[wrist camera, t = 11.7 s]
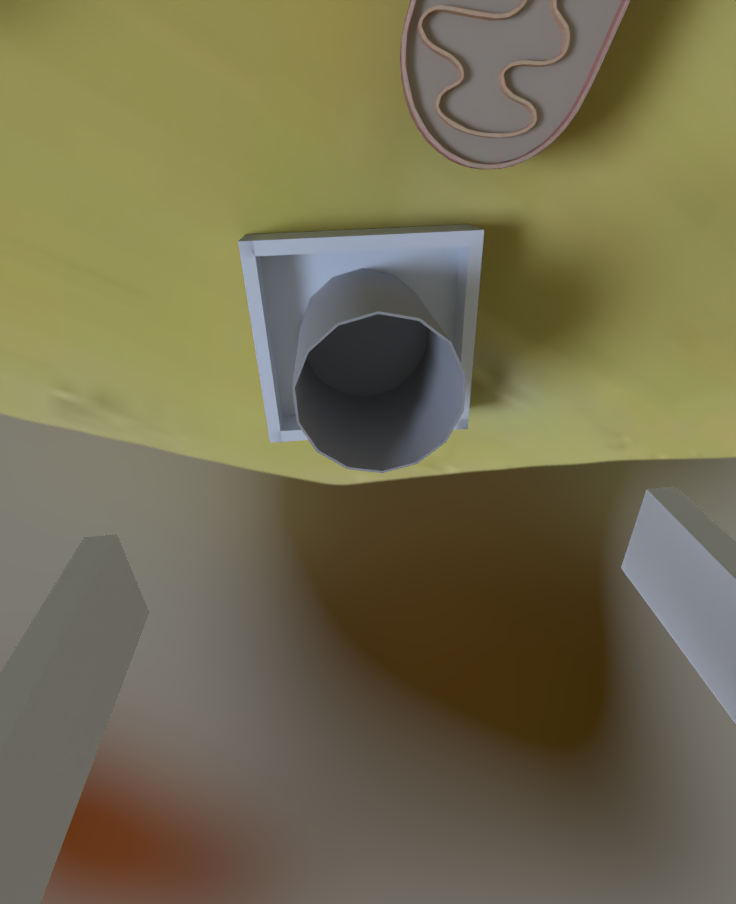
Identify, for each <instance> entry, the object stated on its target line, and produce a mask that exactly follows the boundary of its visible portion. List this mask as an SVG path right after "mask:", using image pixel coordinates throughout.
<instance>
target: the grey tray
mask: <svg viewBox="0 0 736 904" xmlns="http://www.w3.org/2000/svg"><path fill="white" fill-rule="evenodd" d="M483 239H484V230H483V229H481V228H478V227H476V226H473V225H471V224H462V225H441V226H419V227H398V228H376V229H354V230H333V231H311V232H290V233H268V234H246V235H245V236H243V237H242V238H241V239H240V240H239V241H238V244H239V250H240V256H241V263H242V269H243V275H244V282H245V288H246V294H247V300H248V307H249V313H250V319H251V325H252V332H253V338H254V344H255V351H256V357H257V363H258V369H259V376H260V382H261V388H262V394H263V401H264V407H265V413H266V420H267V426H268V432H269V438H270V442H284V441H298V440H308V438H307V437H306V436H305V434H304V433H303V431H302V430H301V428H300V427H299V426H298V424H297V421H296V414H295V406H294V398H293V390H292V385H293V377H294V369H295V362H296V354H297V346H298V338H299V331H300V325H301V322H302V319H303V316H304V314H305V311H306V308H307V306H308V303H309V300H310V298H311V297H312V296H313V295H314V294H315V293H316V292H317V291H318V290H319V289H320V288H321V287H322V286H323V285H324V284H326V283H327V282H328V281H329V280H330V279H331V278H332V277H334V276H338V275H341V274H344V273H348V272H351V271H354V270H358V269H361V268H363V269H368V270H374V271H379V272H385V273H390V274H393V275H394V276H395V277H396V278H398V279H399V280H400V281H401V282H403V283H404V284H405V285H407V286H408V287H409V288H410V289H412V290H413V291H414V292H415V293H416V294H417V296H418V297H419V298H420V300H421V301H422V302H423V304H424V305H425V307H426V308H427V309H428V311H429V312H430V313H431V315H432V316H433V317H434V319H435V320H436V322H437V323H438V324H439V326H440V327H441V328H442V330H443V331H444V333H445V334H446V335H447V337H448V338H449V339H450V341H451V342H452V345H453V347H454V349H455V351H456V354H457V356H458V358H459V360H460V362H461V365H462V367H463V369H464V371H465V374H466V388H465V401H464V412H463V414H462V415H461V417H460V419H459V420H458V422H457V424H456V426H455V427H454V429H453V430H456V429H468V418H469V406H470V395H471V383H472V371H473V359H474V347H475V335H476V323H477V311H478V299H479V287H480V275H481V263H482V251H483Z"/></svg>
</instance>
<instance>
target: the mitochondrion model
mask: <svg viewBox="0 0 736 904" xmlns="http://www.w3.org/2000/svg"><path fill="white" fill-rule="evenodd" d="M630 1H631V0H411V1H410V5H409V8H408V12H407V15H406V19H405V24H404V29H403V33H402V39H401V50H400V63H401V78H402V84H403V90H404V95H405V99H406V102H407V105H408V108H409V111H410V114H411V116H412V118H413V120H414V122H415V124H416V126H417V128H418V129H419V131H420V132H421V134H422V135H423V137H424V138H425V139H426V141H427V142H428V143H429V144H430V145H431V146H432V147H433V148H434V149H435V150H436V151H438V152H439V153H440V154H442V155H443V156H444V157H446V158H447V159H448V160H451V161H453V162H455V163H457V164H459V165H462V166H466V167H469V168H475V169H502V168H506V167H510V166H514V165H516V164H519V163H521V162H523V161H525V160H527V159H529V158H531V157H533V156H535V155H537V154H538V153H540V152H542V151H543V150H544V149H545V148H546V147H548V146H549V145H550V144H551V143H552V142H553V141H554V140H555V139H556V138H557V137H558V136H559V135H560V134H561V133H562V132H563V131H564V130H565V129H566V127H567V126H568V125H569V123H570V122H571V120H572V119H573V118H574V116H575V115H576V113H577V112H578V111H579V109H580V107H581V105H582V103H583V101H584V99H585V98H586V96H587V94H588V92H589V90H590V88H591V86H592V84H593V83H594V81H595V79H596V76H597V74H598V72H599V70H600V67H601V65H602V63H603V61H604V59H605V56H606V54H607V52H608V50H609V47H610V45H611V43H612V41H613V38H614V36H615V34H616V32H617V30H618V27H619V25H620V23H621V21H622V18H623V16H624V14H625V12H626V9H627V7H628V5H629V3H630Z"/></svg>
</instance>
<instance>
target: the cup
mask: <svg viewBox="0 0 736 904" xmlns="http://www.w3.org/2000/svg"><path fill="white" fill-rule="evenodd" d="M465 388H466V374H465V371H464V369H463V367H462V365H461V362H460V360H459V358H458V356H457V354H456V351H455V349H454V347H453V345H452V342H451V341H450V339H449V338H448V337H447V335H446V334H445V333H444V331H443V330H442V328H441V327H440V326H439V324H438V323H437V322H436V320H435V319H434V317H433V316H432V315H431V313H430V312H429V311H428V309H427V308H426V307H425V305H424V304H423V302H422V301H421V300H420V298H419V297H418V296H417V294H416V293H415V292H414V291H413V290H412V289H410V288H409V287H408V286H407V285H405V284H404V283H403V282H401V281H400V280H399V279H398V278H396V277H395V276H394V275H393V274H390V273H385V272H379V271H374V270H368V269H363V268H361V269H358V270H354V271H351V272H348V273H344V274H341V275H338V276H334V277H332V278H331V279H330V280H329V281H328V282H327V283H326V284H324V285H323V286H322V287H321V288H320V289H319V290H318V291H317V292H316V293H315V294H314V295H313V296H312V297H311V298H310V300H309V303H308V306H307V308H306V311H305V314H304V316H303V319H302V322H301V325H300V331H299V338H298V346H297V354H296V362H295V369H294V377H293V385H292V390H293V398H294V406H295V414H296V421H297V424H298V426H299V427H300V428H301V430H302V431H303V433H304V434H305V436H306V437H307V438H308V440H309V441H310V443H311V444H312V446H313V447H314V449H315V450H316V451H317V452H318V453H320V454H322V455H323V456H325V457H327V458H329V459H331V460H332V461H334V462H336V463H338V464H339V465H341V466H343V467H345V468H346V469H352V470H361V471H370V472H379V473H384V472H388V471H391V470H395V469H399V468H403V467H406V466H410V465H414V464H417V463H419V462H420V461H421V460H423V459H424V458H425V457H427V456H428V455H429V454H431V453H432V452H433V451H435V450H436V449H437V448H439V447H440V446H441V445H443V444H444V443H445V442H446V441H447V439H448V438H449V436H450V434H451V432H452V431H453V429H454V427H455V426H456V424H457V422H458V420H459V419H460V417H461V415H462V414H463V412H464V401H465Z"/></svg>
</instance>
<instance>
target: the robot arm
mask: <svg viewBox="0 0 736 904" xmlns="http://www.w3.org/2000/svg"><path fill="white" fill-rule="evenodd" d="M621 568H622V570H623V571H624V572H625V574H626V575H627V577H628V578H629V579H630V581H631V582H632V583H633V585H634V586H635V587H636V589H637V590H638V592H639V593H640V594H641V596H642V597H643V598H644V600H645V601H646V602H647V604H648V605H649V607H650V608H651V609H652V611H653V612H654V613H655V615H656V616H657V617H658V619H659V620H660V622H661V623H662V624H663V626H664V627H665V628H666V630H667V631H668V633H669V634H670V635H671V637H672V638H673V639H674V641H675V642H676V643H677V645H678V646H679V647H680V649H681V650H682V652H683V653H684V654H685V656H686V657H687V658H688V659H689V661H690V663H691V664H692V665H693V666H694V668H695V669H696V670H697V672H698V673H699V675H700V676H701V678H702V679H703V680H704V682H705V683H706V684H707V686H708V687H709V688H710V690H711V691H712V693H713V694H714V695H715V697H716V698H717V699H718V701H719V702H720V703H721V705H722V706H723V707H724V709H725V710H726V711H727V713H728V714H729V716H730V717H731V718H732V720H733V721H734V723H735V724H736V542H735V541H734V540H733V539H732V538H731V537H730V536H729V535H728V534H726V533H725V532H724V531H723V530H722V529H721V528H720V527H719V526H718V525H717V524H716V523H714V521H712V520H711V519H710V518H709V517H708V516H707V515H706V514H705V513H704V512H703V511H702V510H700V508H698V507H697V506H696V505H695V504H694V503H693V502H692V501H691V500H690V499H689V498H688V497H686V496H685V495H684V494H683V493H682V492H681V491H680V490H679V489H678V488H677V487H666V488H654V489H647V490H646V493H645V496H644V499H643V502H642V505H641V508H640V511H639V515H638V518H637V521H636V524H635V527H634V530H633V533H632V536H631V539H630V542H629V545H628V549H627V552H626V555H625V558H624V561H623V564H622V567H621ZM148 614H149V611H148V609H147V606H146V603H145V601H144V599H143V596H142V594H141V591H140V589H139V586H138V584H137V582H136V579H135V577H134V574H133V572H132V570H131V567H130V565H129V562H128V560H127V557H126V555H125V553H124V550H123V548H122V545H121V543H120V540H119V538H118V536H117V535H106V536H96V537H95V536H94V537H84V539H83V540H82V542H81V543H80V545H79V547H78V548H77V550H76V552H75V553H74V555H73V556H72V558H71V560H70V561H69V563H68V564H67V566H66V568H65V569H64V571H63V573H62V574H61V576H60V577H59V579H58V581H57V582H56V584H55V585H54V587H53V589H52V590H51V592H50V594H49V595H48V597H47V598H46V600H45V601H44V603H43V605H42V606H41V608H40V610H39V611H38V613H37V614H36V616H35V618H34V619H33V621H32V623H31V624H30V626H29V627H28V629H27V631H26V632H25V634H24V635H23V637H22V639H21V640H20V642H19V643H18V645H17V647H16V648H15V650H14V652H13V653H12V655H11V656H10V658H9V660H8V661H7V663H6V665H5V666H4V668H3V669H2V671H1V672H0V904H40V902H41V899H42V897H43V894H44V891H45V889H46V886H47V883H48V881H49V878H50V875H51V873H52V870H53V867H54V864H55V862H56V859H57V857H58V854H59V851H60V848H61V845H62V843H63V841H64V838H65V835H66V833H67V830H68V827H69V825H70V822H71V819H72V817H73V814H74V811H75V808H76V806H77V803H78V801H79V798H80V795H81V793H82V790H83V787H84V785H85V782H86V779H87V777H88V774H89V771H90V769H91V766H92V763H93V761H94V758H95V755H96V753H97V750H98V747H99V745H100V742H101V739H102V737H103V734H104V731H105V729H106V726H107V723H108V721H109V718H110V715H111V713H112V710H113V707H114V705H115V702H116V700H117V697H118V694H119V691H120V689H121V686H122V684H123V681H124V678H125V676H126V673H127V670H128V667H129V665H130V662H131V660H132V657H133V654H134V652H135V649H136V646H137V643H138V641H139V638H140V636H141V633H142V630H143V628H144V625H145V622H146V620H147V617H148Z"/></svg>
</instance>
